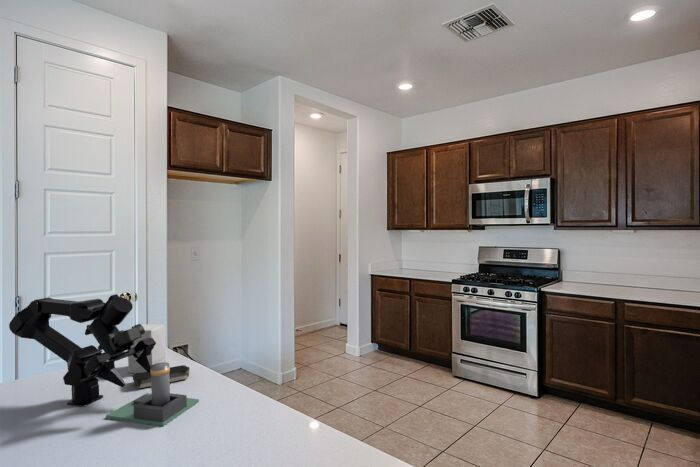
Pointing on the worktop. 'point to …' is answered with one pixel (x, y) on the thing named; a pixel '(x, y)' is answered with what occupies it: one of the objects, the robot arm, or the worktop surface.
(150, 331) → the supplement box
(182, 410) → the header board
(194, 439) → the worktop surface
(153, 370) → the plug
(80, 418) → the worktop surface
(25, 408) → the worktop surface
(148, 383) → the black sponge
